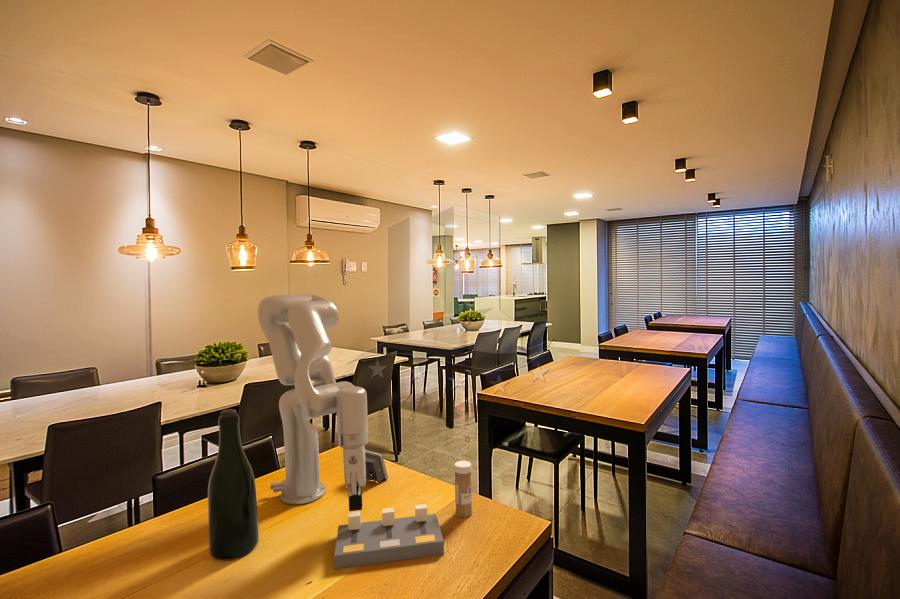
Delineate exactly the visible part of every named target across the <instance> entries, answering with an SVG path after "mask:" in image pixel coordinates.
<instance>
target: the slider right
mask: <svg viewBox="0 0 900 599" xmlns="http://www.w3.org/2000/svg"><path fill="white" fill-rule="evenodd" d="M427 515H428V505H427V503H423V504H420V503H419V504H415V505H414V516H415V519H416V522H421V521H427Z"/></svg>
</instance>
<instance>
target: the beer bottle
mask: <svg viewBox="0 0 900 599" xmlns="http://www.w3.org/2000/svg"><path fill="white" fill-rule="evenodd" d="M237 412H238V411H237V409H235V408H228V409H224V410H221V411H220V416H219V417H218V421H217V423H218V433H219V434H218V435H219V436H218V449H217V455H216V459H215V463H214V465H213V467H212V470H211V473H210V477H209V480H208V487H207V514H208V515H207V519H208V520H207V522H208V527H207V528H208V548H209V554H210V556H211V558H213V559H214V560H219V561H229V560H235V559H238V558H241V557H244V556H245V555H247V554H248V553H250V552H252V551H253V550H254V549H255V548H256V547H257V545H258V543H259V541H260V540H259V539H260V538H259V534H260V532H259V516H258V501H257V486H256V480H255V479H256V478H255V474H254V471H253V468H252V466H251V463H250V462H249V460H248V458H247V456H246V454H245V451H244V449H243V445H242V440H241V432H240V416H239V413H237Z"/></svg>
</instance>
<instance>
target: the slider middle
mask: <svg viewBox="0 0 900 599" xmlns="http://www.w3.org/2000/svg"><path fill="white" fill-rule="evenodd" d="M381 512H382V520H383V526H389V525H395V523H394V519H395V509H394V507H388V508H387V507H386V508H382V509H381Z"/></svg>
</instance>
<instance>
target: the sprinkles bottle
mask: <svg viewBox="0 0 900 599" xmlns="http://www.w3.org/2000/svg"><path fill="white" fill-rule="evenodd" d="M453 472H454V493H455V494H454V497H455V514H456V516H458V517H461V518H468V517H470V516H472V515H473V506H472V505H473V504H472V503H473V500H472V499H473V496H472V495H473V494H472V476H471V475H472V463H471V462H470V461H468V460H458V461H456V462H455V463H454V465H453Z"/></svg>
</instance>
